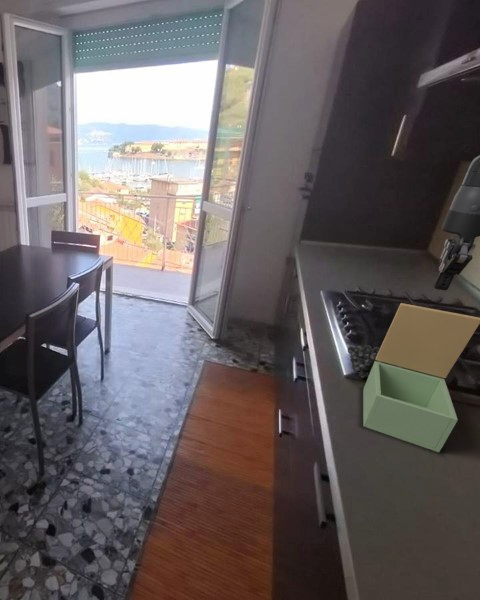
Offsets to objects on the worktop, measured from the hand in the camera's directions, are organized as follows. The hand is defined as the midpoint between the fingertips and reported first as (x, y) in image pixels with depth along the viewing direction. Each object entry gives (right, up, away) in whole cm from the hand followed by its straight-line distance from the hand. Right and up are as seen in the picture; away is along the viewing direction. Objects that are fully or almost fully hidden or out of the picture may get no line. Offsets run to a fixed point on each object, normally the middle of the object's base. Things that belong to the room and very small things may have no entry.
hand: (439, 288), depth 79 cm
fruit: (-1, -22, +20) cm, 30 cm away
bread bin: (-7, -30, +3) cm, 31 cm away
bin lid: (-3, -12, 0) cm, 12 cm away
